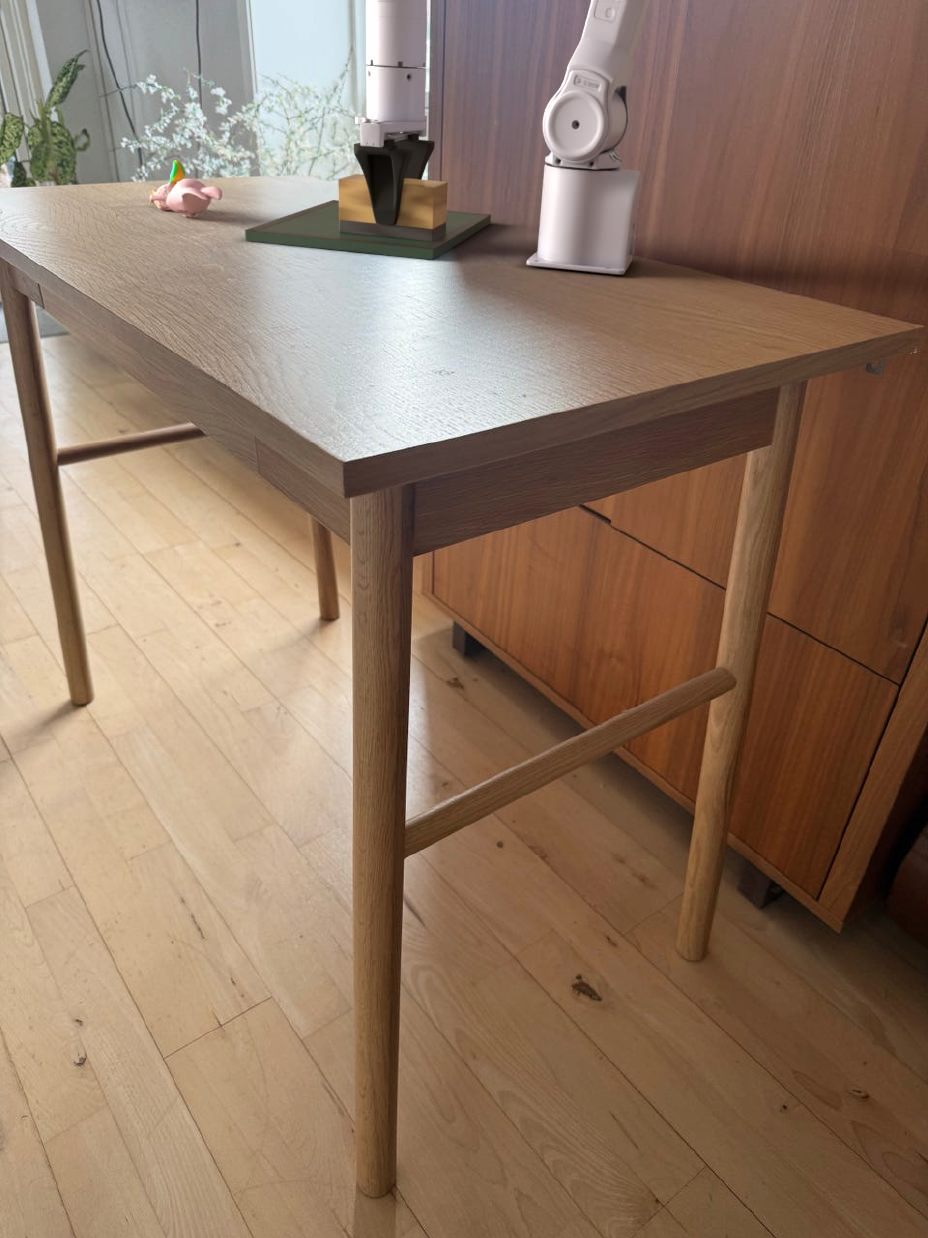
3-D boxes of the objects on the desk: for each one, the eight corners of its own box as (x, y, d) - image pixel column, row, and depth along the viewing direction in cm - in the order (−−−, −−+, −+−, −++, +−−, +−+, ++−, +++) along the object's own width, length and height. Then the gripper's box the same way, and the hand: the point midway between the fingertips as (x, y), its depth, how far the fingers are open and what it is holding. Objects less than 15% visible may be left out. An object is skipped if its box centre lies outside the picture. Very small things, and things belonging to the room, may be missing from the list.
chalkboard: (490, 223, 111) (491, 214, 110) (433, 259, 91) (433, 248, 90) (333, 208, 115) (333, 199, 114) (245, 240, 95) (244, 229, 94)
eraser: (446, 233, 98) (447, 181, 95) (432, 241, 94) (433, 187, 91) (356, 224, 100) (355, 173, 97) (339, 232, 96) (338, 178, 93)
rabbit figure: (139, 220, 109) (188, 217, 98) (129, 163, 107) (177, 154, 96) (190, 217, 113) (242, 214, 101) (181, 162, 110) (234, 153, 99)
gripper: (381, 63, 96) (381, 206, 103) (328, 64, 84) (332, 226, 91) (447, 67, 94) (442, 212, 101) (402, 69, 82) (400, 233, 89)
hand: (394, 219), depth 96 cm, fingers closed on eraser, 5 cm apart
